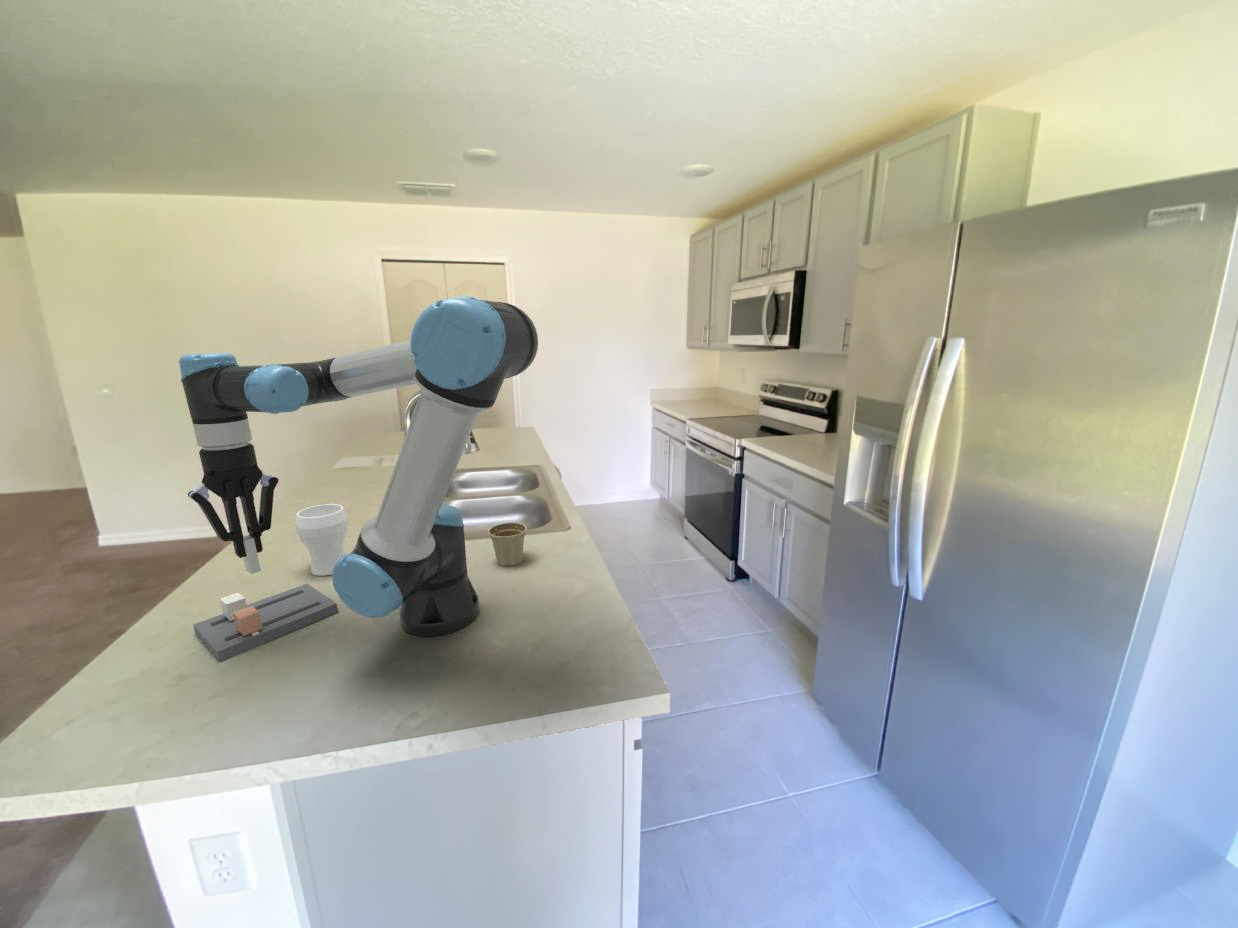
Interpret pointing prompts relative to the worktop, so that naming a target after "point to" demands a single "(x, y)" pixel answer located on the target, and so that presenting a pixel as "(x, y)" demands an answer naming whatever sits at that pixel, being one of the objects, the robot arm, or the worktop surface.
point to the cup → (323, 535)
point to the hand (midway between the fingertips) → (253, 570)
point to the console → (266, 621)
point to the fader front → (247, 620)
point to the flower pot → (508, 542)
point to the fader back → (232, 605)
